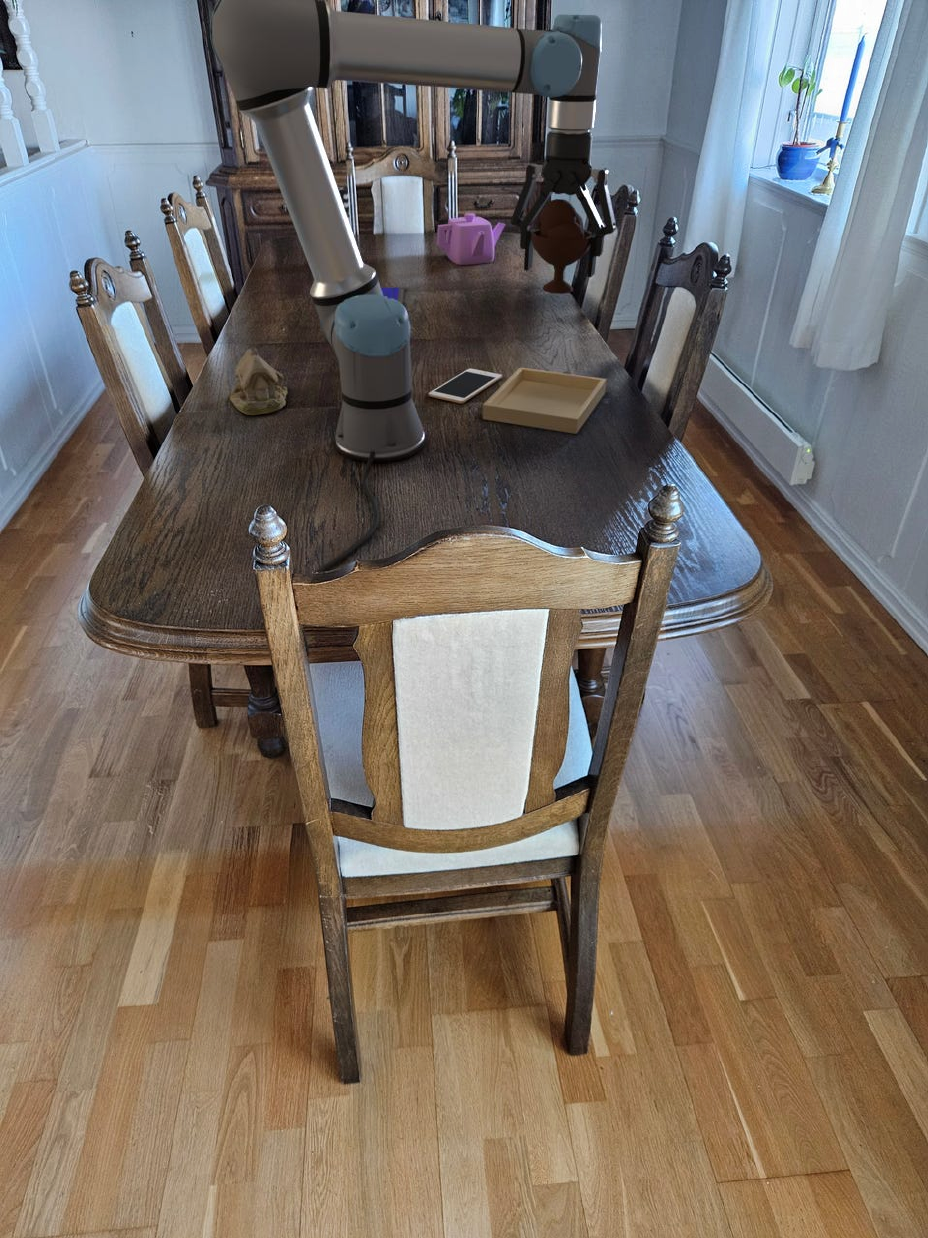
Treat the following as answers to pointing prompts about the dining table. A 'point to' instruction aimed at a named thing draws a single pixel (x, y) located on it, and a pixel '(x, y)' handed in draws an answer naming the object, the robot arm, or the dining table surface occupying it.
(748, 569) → the dining table surface
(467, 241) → the teakettle
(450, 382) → the cell phone
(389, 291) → the booklet
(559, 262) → the ice cream bowl
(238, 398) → the ceramic model
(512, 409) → the tray
